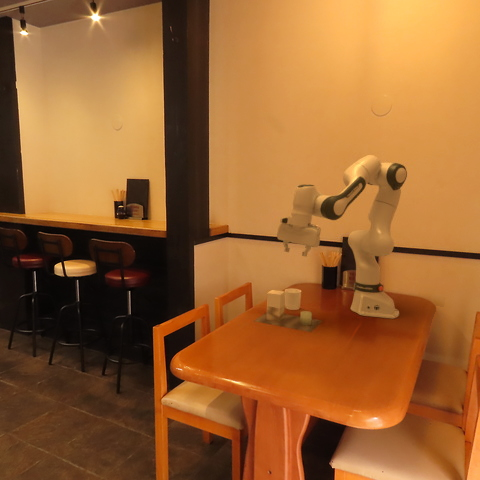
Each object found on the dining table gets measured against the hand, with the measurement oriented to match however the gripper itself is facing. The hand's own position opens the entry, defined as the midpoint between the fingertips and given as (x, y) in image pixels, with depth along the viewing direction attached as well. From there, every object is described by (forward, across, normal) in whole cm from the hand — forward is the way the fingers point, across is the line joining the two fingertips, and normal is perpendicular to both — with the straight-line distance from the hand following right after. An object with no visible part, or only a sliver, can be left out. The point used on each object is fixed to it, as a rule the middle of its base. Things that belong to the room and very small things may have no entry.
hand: (295, 254), depth 179 cm
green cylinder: (+29, -8, -4) cm, 30 cm away
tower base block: (+30, +5, 0) cm, 30 cm away
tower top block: (+24, +5, +1) cm, 25 cm away
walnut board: (+31, -1, -2) cm, 31 cm away
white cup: (+30, +9, -18) cm, 36 cm away
